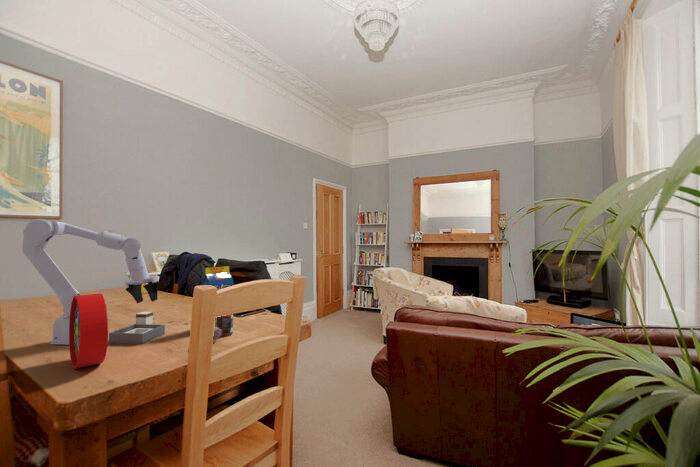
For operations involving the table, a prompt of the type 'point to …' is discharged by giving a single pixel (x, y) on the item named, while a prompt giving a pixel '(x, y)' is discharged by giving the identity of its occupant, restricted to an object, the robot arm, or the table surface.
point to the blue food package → (217, 278)
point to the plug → (144, 318)
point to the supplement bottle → (225, 324)
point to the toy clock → (88, 330)
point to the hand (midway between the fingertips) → (147, 301)
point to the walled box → (136, 334)
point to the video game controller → (216, 333)
